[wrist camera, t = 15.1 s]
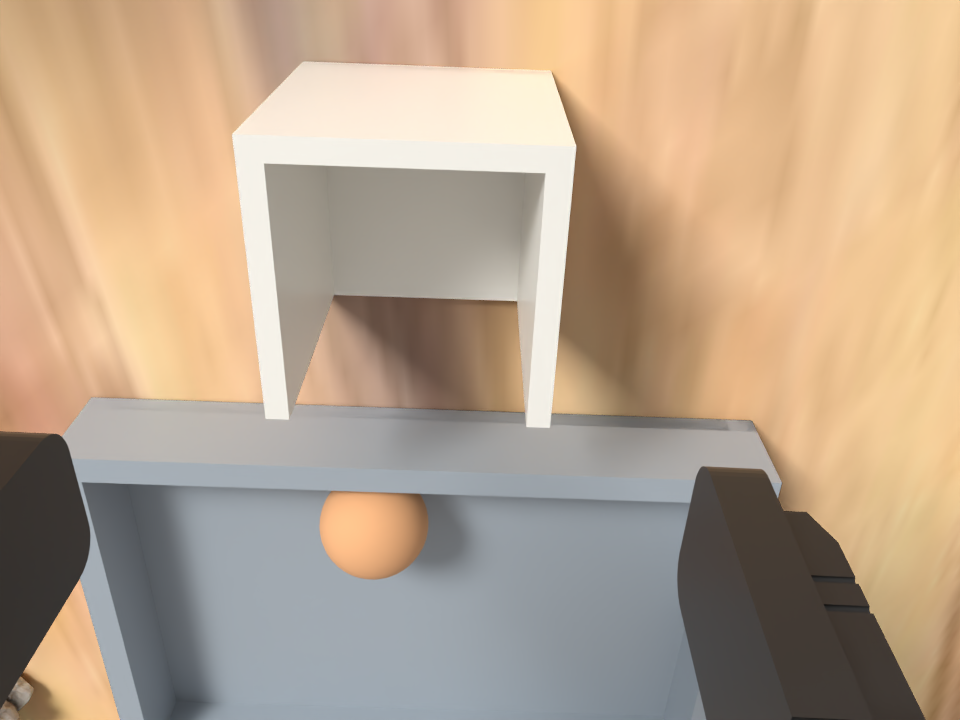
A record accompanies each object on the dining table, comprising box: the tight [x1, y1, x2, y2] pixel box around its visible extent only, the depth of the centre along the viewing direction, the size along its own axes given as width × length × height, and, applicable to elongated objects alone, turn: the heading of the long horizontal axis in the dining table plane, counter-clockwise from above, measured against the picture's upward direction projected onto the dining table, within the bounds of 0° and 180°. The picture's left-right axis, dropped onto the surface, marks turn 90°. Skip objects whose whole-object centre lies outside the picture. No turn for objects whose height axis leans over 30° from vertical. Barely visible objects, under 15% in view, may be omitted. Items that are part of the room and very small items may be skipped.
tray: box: [62, 397, 782, 720], centre depth 27 cm, size 20×14×3 cm
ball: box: [319, 491, 429, 580], centre depth 24 cm, size 3×3×3 cm
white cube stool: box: [232, 61, 576, 428], centre depth 19 cm, size 6×6×6 cm
